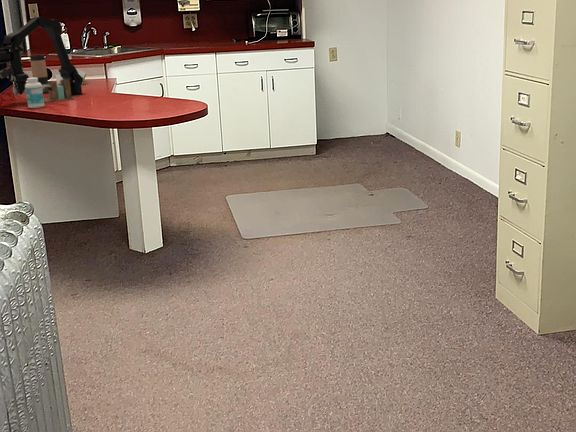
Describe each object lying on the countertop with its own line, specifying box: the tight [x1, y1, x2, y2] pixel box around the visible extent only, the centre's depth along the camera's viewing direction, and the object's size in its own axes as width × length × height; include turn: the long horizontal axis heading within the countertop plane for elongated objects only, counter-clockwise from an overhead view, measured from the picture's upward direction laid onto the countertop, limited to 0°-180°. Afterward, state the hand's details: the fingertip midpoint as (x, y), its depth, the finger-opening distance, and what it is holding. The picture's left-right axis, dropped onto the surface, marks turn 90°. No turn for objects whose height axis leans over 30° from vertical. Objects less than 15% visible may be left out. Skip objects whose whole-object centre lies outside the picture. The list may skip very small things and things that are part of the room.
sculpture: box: [52, 67, 87, 86], centre depth 447 cm, size 25×19×10 cm
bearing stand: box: [44, 80, 76, 103], centre depth 373 cm, size 20×10×9 cm, turn 122°
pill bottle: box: [25, 77, 45, 109], centre depth 350 cm, size 8×7×14 cm
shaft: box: [12, 84, 52, 96], centre depth 369 cm, size 19×4×4 cm, turn 122°
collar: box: [57, 84, 65, 99], centre depth 375 cm, size 3×6×6 cm, turn 32°
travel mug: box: [29, 54, 49, 95], centre depth 404 cm, size 8×8×20 cm
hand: (20, 94), depth 366 cm, fingers closed on shaft, 3 cm apart
